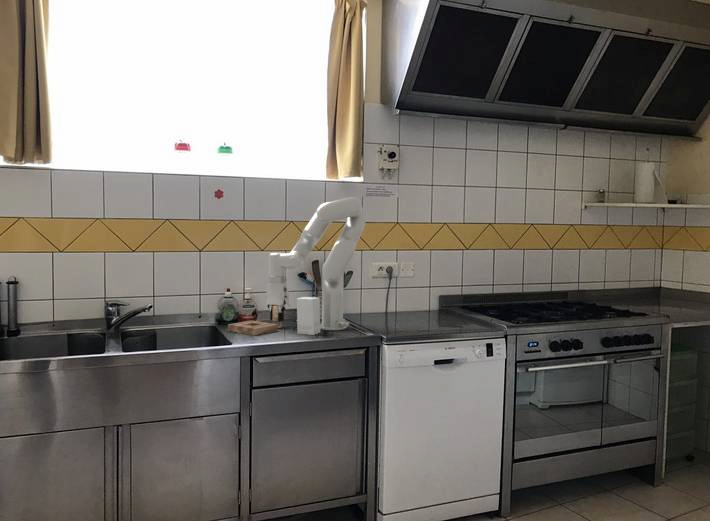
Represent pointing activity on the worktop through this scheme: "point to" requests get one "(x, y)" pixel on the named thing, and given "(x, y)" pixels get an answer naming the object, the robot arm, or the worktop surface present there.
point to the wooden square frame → (252, 327)
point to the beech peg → (276, 316)
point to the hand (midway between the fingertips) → (277, 320)
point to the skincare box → (308, 315)
